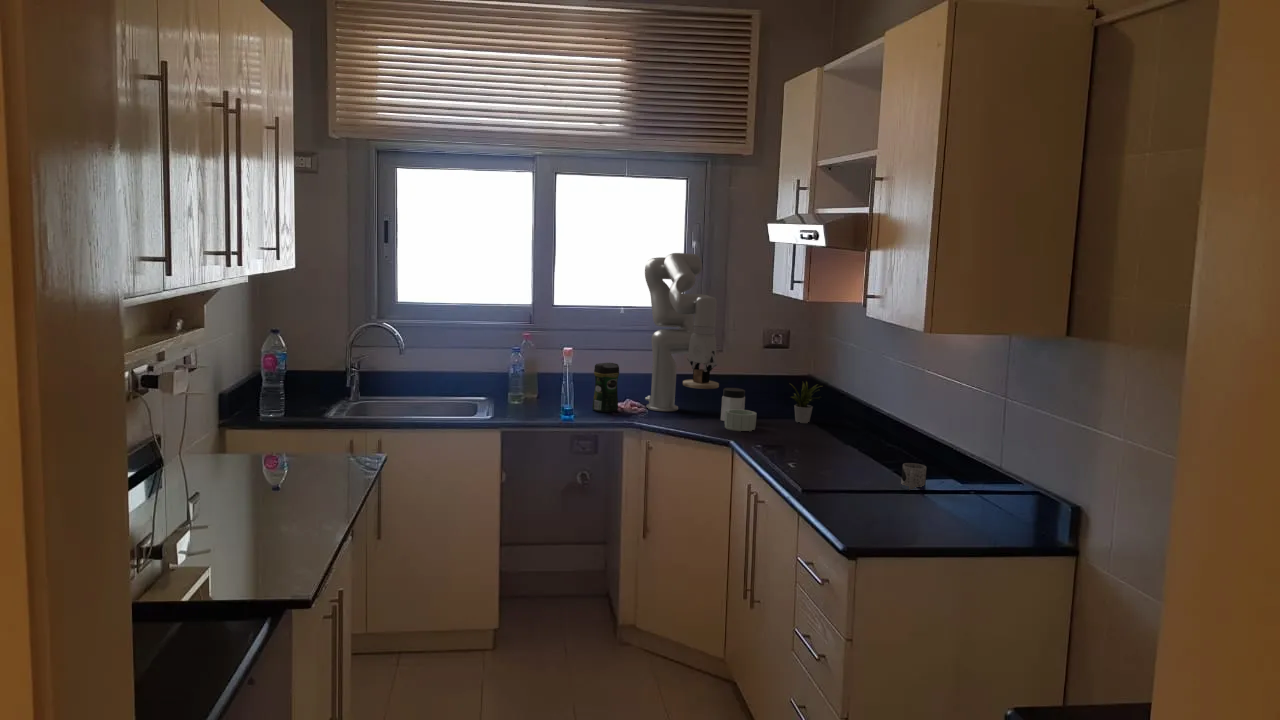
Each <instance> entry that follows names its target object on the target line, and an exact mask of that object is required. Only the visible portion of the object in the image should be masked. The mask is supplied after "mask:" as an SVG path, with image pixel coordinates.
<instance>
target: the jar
mask: <svg viewBox="0 0 1280 720" xmlns="http://www.w3.org/2000/svg"><path fill="white" fill-rule="evenodd" d="M745 404H746V390H745V389H743V388H739V387H725V388H723V394H722V397H721V406H720V407H721V408H720V409H721V410H720V421H722V422H725V411H726V410H731V409H741V410H745V408H746V407H745V406H746V405H745Z"/></svg>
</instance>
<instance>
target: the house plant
mask: <svg viewBox="0 0 1280 720" xmlns="http://www.w3.org/2000/svg"><path fill="white" fill-rule="evenodd" d="M790 385H791V387H792V388H793V389H794V390H795V393H794V392H793V395H792V396H790V398H791V399H793V400H794V401H795V402H796V404H794V405H793V406H794V408H793V409H794V419H795V422H796V423H798V422H800V424H809V423H810V420H811V416H812V413H813V408H814V406H813V405H811V403H814V397H812V396H813V395H814V394H815V393H816V392H819V388H820V387H822V385H819V384H815V385H813V386H812V387H810V388H809V384H808V381H807V380H805V382H802V385H801V392H800V393H799V391H798V389H797V388H796V387H795V386H794V385H793V384H792V383H790ZM808 388H809V389H808ZM816 399H818V400H819V401H820V400H821V399H820V396H818V397H815V400H816ZM808 422H809V423H808Z"/></svg>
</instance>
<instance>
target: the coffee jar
mask: <svg viewBox="0 0 1280 720" xmlns="http://www.w3.org/2000/svg"><path fill="white" fill-rule="evenodd" d="M593 374H594V381H595V382H594V390H593V391H594V394H593V397H592V410H593V411H595V412H601V413H609V412H615V411H618V410H619V399H618V398H619V397H618V382H619V381H618V379H619V376H620V365H619V364H618V363H616V362H615V363H614V362H602V363H601V362H600V363H595V365H594V370H593Z"/></svg>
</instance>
